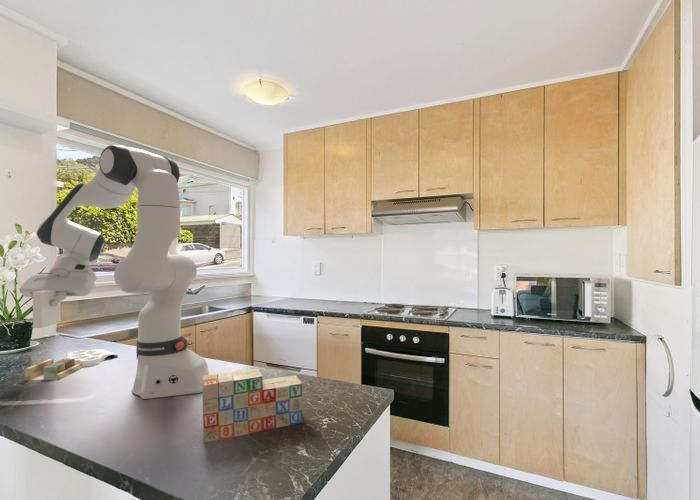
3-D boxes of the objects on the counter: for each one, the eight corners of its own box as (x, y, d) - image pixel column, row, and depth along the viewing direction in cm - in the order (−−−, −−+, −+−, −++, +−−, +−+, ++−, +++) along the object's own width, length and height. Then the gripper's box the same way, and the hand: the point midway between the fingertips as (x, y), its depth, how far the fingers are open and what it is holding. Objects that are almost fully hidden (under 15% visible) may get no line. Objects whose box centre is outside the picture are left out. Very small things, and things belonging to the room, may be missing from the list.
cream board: (52, 322, 116) (52, 289, 116) (60, 322, 116) (60, 289, 116) (33, 327, 108) (32, 292, 108) (41, 327, 108) (41, 292, 108)
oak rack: (49, 372, 117) (49, 358, 117) (81, 371, 118) (81, 357, 118) (24, 383, 107) (24, 369, 107) (60, 382, 108) (59, 367, 108)
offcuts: (63, 369, 117) (63, 359, 117) (74, 369, 117) (74, 358, 117) (43, 378, 108) (43, 367, 108) (55, 378, 109) (55, 367, 109)
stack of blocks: (296, 412, 87) (296, 362, 87) (303, 423, 81) (302, 370, 81) (203, 429, 79) (202, 374, 79) (202, 443, 73) (202, 384, 73)
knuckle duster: (122, 362, 128) (73, 374, 116) (101, 354, 138) (54, 364, 126) (121, 353, 128) (72, 364, 116) (101, 346, 138) (54, 355, 126)
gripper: (29, 267, 118) (3, 300, 108) (93, 266, 120) (74, 298, 110) (39, 279, 123) (16, 312, 113) (101, 278, 125) (84, 310, 115)
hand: (45, 305), depth 112 cm, fingers closed on cream board, 2 cm apart
